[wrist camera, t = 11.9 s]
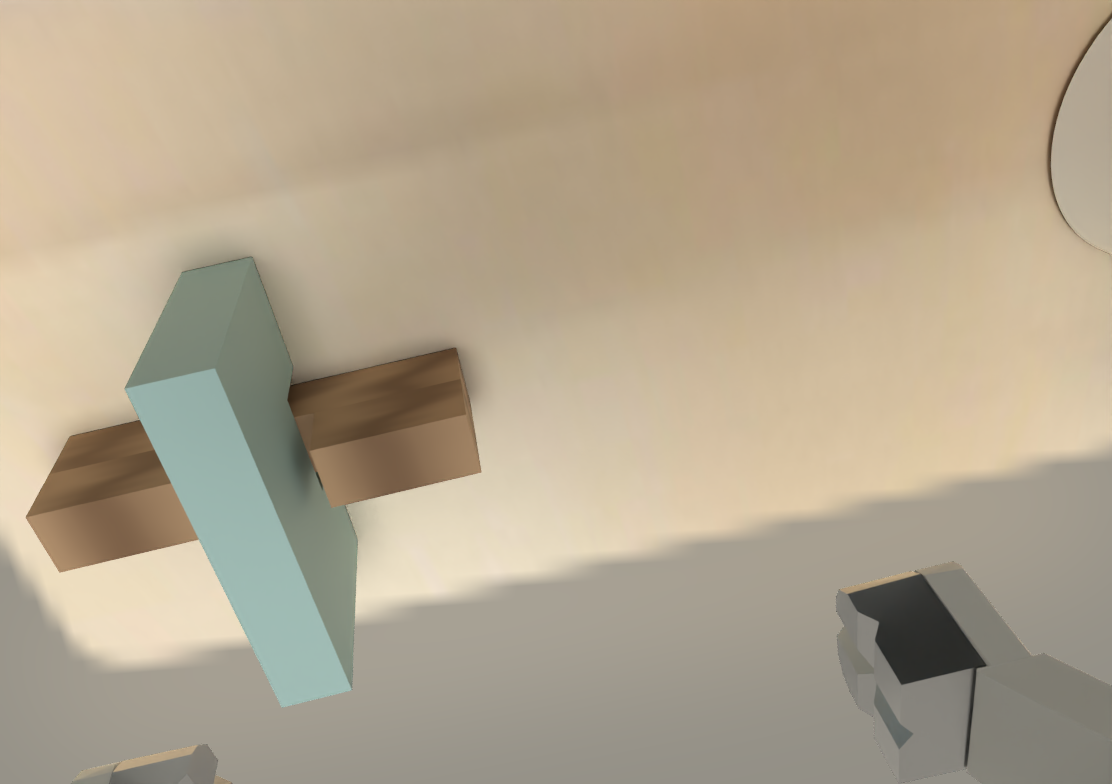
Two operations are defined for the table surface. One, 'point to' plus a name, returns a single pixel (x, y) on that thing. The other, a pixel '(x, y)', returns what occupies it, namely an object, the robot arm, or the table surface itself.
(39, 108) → the table surface
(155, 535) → the walnut notched block
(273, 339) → the teal plate
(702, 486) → the table surface
